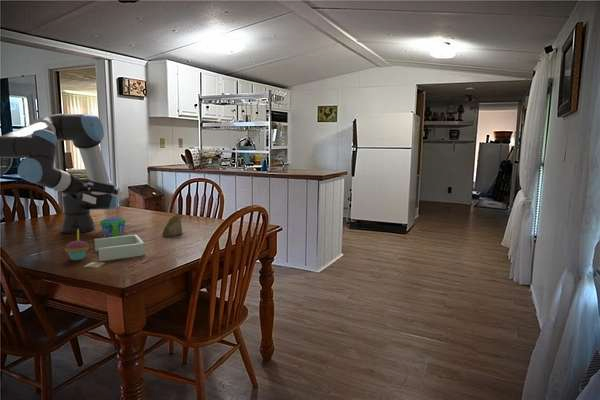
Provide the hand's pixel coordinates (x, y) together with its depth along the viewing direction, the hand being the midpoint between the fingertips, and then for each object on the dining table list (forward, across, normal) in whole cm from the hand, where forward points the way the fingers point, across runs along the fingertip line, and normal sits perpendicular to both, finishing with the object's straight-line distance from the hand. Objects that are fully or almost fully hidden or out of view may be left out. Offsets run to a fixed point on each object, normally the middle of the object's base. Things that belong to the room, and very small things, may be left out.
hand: (108, 198), depth 165 cm
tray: (+8, 0, -22) cm, 23 cm away
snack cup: (+20, -14, -13) cm, 28 cm away
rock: (+40, +3, -8) cm, 41 cm away
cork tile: (-7, +3, -30) cm, 31 cm away
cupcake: (-3, -10, -25) cm, 27 cm away
